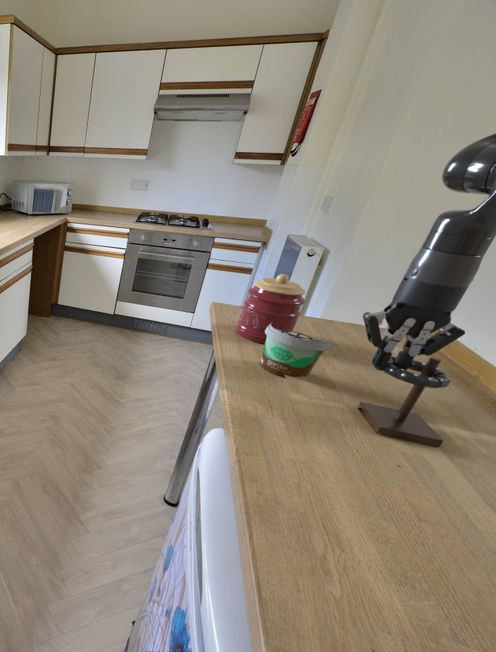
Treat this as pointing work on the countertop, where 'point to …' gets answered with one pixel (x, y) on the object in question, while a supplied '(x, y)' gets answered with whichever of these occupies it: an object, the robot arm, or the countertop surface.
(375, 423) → the brown peg stand
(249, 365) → the countertop surface
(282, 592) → the countertop surface
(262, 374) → the countertop surface
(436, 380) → the dark grey ring
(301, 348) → the food container
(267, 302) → the kitchen canister
